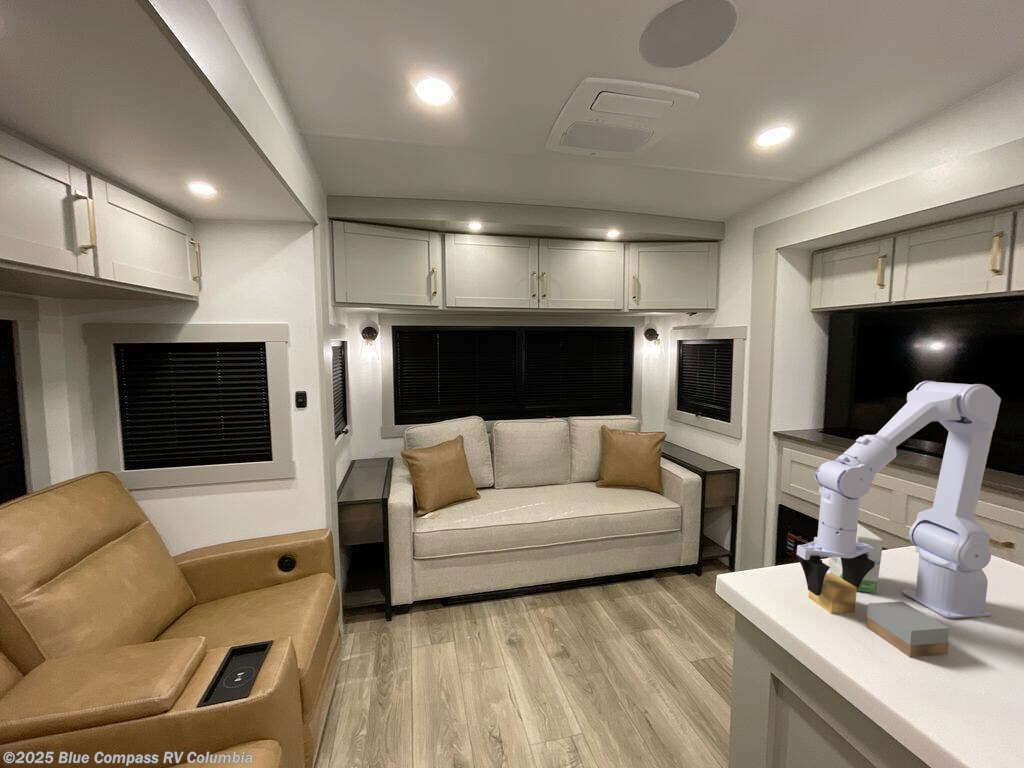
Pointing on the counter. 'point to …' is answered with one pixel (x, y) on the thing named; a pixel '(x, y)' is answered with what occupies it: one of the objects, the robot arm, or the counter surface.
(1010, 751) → the counter surface
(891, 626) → the slate-grey slab
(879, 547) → the ink box
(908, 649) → the walnut slab
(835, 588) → the ochre cube
